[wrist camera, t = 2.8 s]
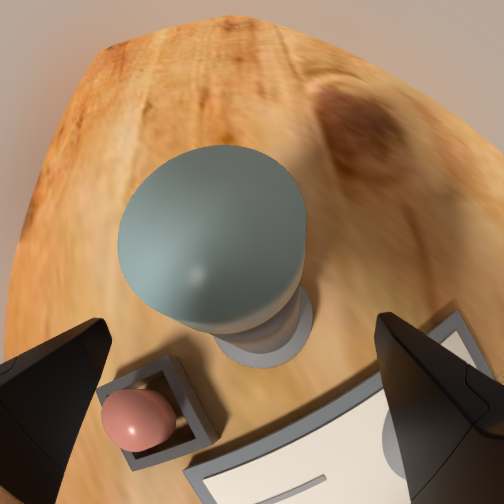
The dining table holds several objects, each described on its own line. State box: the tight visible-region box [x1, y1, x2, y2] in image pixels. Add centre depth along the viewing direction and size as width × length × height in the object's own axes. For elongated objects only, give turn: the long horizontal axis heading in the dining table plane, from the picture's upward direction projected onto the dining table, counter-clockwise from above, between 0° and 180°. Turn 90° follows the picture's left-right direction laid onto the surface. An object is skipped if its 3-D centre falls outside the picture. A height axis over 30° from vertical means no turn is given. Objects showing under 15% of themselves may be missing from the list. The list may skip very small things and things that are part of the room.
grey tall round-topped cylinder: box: [118, 145, 313, 368], centre depth 13 cm, size 6×6×13 cm
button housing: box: [96, 355, 220, 472], centre depth 16 cm, size 6×6×2 cm
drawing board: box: [182, 310, 495, 504], centre depth 13 cm, size 20×13×1 cm, turn 118°
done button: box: [101, 389, 176, 452], centre depth 14 cm, size 4×4×3 cm
